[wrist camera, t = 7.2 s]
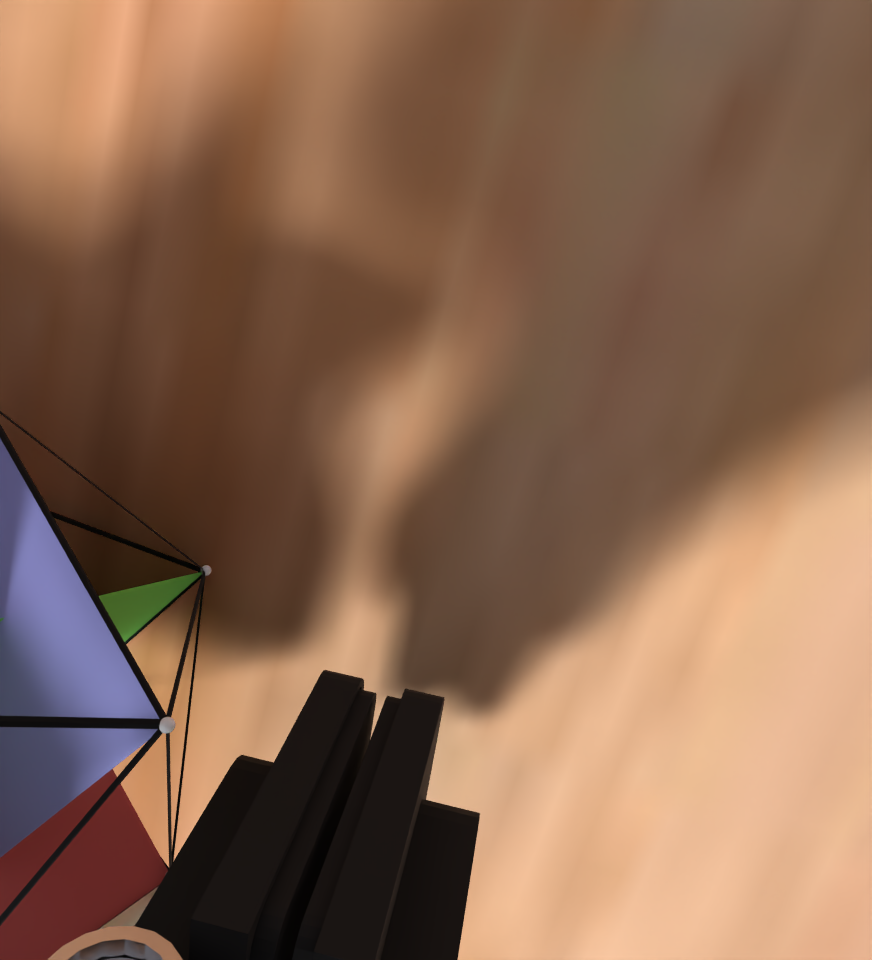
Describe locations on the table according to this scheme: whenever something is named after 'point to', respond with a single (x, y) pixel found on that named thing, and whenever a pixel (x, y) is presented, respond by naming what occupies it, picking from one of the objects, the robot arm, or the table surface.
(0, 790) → the geometric puzzle
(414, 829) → the robot arm
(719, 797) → the table surface
